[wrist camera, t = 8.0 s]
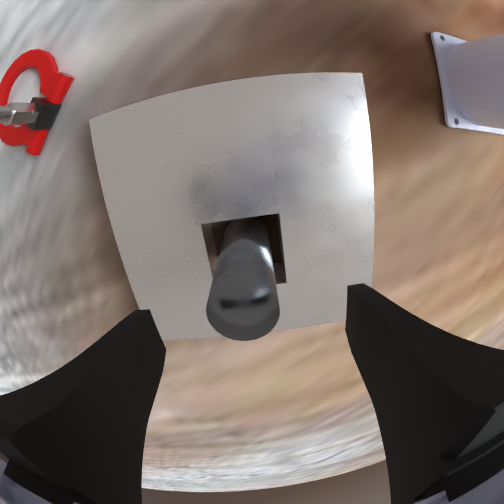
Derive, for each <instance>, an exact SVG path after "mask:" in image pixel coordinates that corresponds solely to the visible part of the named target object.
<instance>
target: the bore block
mask: <svg viewBox="0 0 504 504" xmlns="http://www.w3.org/2000/svg"><path fill="white" fill-rule="evenodd" d="M89 124H90V131H91V137H92V143H93V148H94V154H95V159H96V164H97V169H98V174H99V178H100V183H101V187H102V191H103V196H104V200H105V204H106V208H107V211H108V215H109V219H110V222H111V226H112V230H113V233H114V236H115V240H116V243H117V246H118V250H119V253H120V256H121V259H122V262H123V265H124V268H125V271H126V274H127V277H128V280H129V282H130V285H131V288H132V291H133V293H134V296H135V299H136V301H137V304H138V307H139V309H140V310H145V309H150V311H151V314H152V316H153V319H154V322H155V324H156V327H157V329H158V331H159V334H160V336H161V339H162V340H179V339H196V338H210V337H222V336H223V335H221V334H220V333H218V332H217V331H216V330H215V329H214V328H213V327H212V326H211V324H210V323H209V321H208V319H207V315H206V305H207V301H208V296H209V292H210V288H211V284H212V280H213V276H214V272H215V268H216V264H217V260H218V257H217V252H216V247H215V242H214V237H213V232H212V227H211V223H212V222H219V221H226V220H233V219H240V218H247V217H255V216H262V215H270V214H277V221H278V230H279V238H280V247H281V257H282V262H279V263H273V267H274V273H275V280H276V287H277V293H278V300H279V307H280V316H279V320H278V322H277V324H276V325H275V327H274V328H273V329H272V330H271V331H279V330H286V329H294V328H301V327H308V326H314V325H321V324H327V323H333V322H338V321H344V320H346V309H347V286H348V285H354V284H360V283H364V284H366V285H368V286H369V287H372V273H373V252H374V182H373V162H372V148H371V136H370V126H369V117H368V108H367V101H366V94H365V87H364V81H363V75H362V73H344V72H323V73H296V74H282V75H270V76H261V77H252V78H245V79H238V80H231V81H225V82H219V83H214V84H208V85H203V86H198V87H194V88H189V89H185V90H180V91H176V92H172V93H168V94H165V95H161V96H157V97H154V98H150V99H147V100H143V101H140V102H137V103H134V104H131V105H127V106H124V107H121V108H119V109H116V110H113V111H110V112H107V113H105V114H102V115H99V116H97V117H94V118H92V119H89ZM271 331H270V332H271Z"/></svg>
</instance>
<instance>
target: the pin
mask: <svg viewBox="0 0 504 504" xmlns="http://www.w3.org/2000/svg"><path fill="white" fill-rule="evenodd" d="M206 315H207V319H208V321H209V323H210V324H211V326H212V327H213V328H214V329H215V330H216V331H217V332H218V333H220V334H221V335H223V336H225V337H227V338H230V339H233V340H240V341H248V340H254V339H257V338H260V337H262V336H264V335H266V334H268V333H269V332H270V331H271V330H272V329H273V328H274V327H275V325H276V324H277V322H278V320H279V316H280V307H279V300H278V293H277V287H276V280H275V273H274V267H273V261H272V254H271V248H270V241H269V235H268V230H267V227H266V225H265V224H264V222H263V221H262V220H261V219H259V218H258V217H256V216H255V217H247V218H240V219H233V220H231V221H230V222H229V223H228V225H227V227H226V229H225V233H224V237H223V241H222V244H221V248H220V252H219V256H218V260H217V264H216V268H215V272H214V276H213V280H212V284H211V288H210V292H209V296H208V301H207V305H206Z"/></svg>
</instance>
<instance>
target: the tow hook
mask: <svg viewBox="0 0 504 504" xmlns="http://www.w3.org/2000/svg"><path fill="white" fill-rule="evenodd" d="M29 67H35V68H36V69H37V70H38V72H39V75H40V82H41V86H40V92H41V94H43V95H44V96H46V97H47V98H37V97H33V98H32V100H31V103H10V104H7V100H8V96H9V92H10V90H11V87H12V85H13V83H14V82H15V80H16V78H17V77H18V76H19V75H20V73H22V72H23V71H24V70H25V69H27V68H29ZM73 79H74V77H73V76H71V75H69V74H67V73H62V72H60V73H58V67H57V64H56V62H55V59H54V57H53V56H52V55H51V54H50V53H49V52H46V51H43V50H40V49H35V50H30V51H28V52H26V53H24V54H22V55H21V56H20V57H19V58H17V59H16V60H15V61H14V62H13V64H12V65H11V66H10V67H9V69H8V70H7V72H6V74H5V75H4V77H3V79H2V81H1V83H0V138H1V140H2V141H3V142H4V143H6V144H7V145H12V146H17V145H21V144H24V145H25V146H26V147H27V148H26V151H27V152H28V153H29V154H32V155H39V154H40V152H41V150H42V147H43V144H44V142H45V139H46V137H47V134H48V132H49V129H51V127H52V125H53V123H54V121H55V118H56V116H57V114H58V112H59V110H60V107H61V103H62V101H63V99H64V97H65V95H66V93H67V91H68V89H69V87H70V85H71V83H72V81H73ZM22 124H23V125H22ZM13 125H22V126H21V127H18V128H16V127H14V126H13Z"/></svg>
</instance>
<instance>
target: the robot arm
mask: <svg viewBox="0 0 504 504" xmlns="http://www.w3.org/2000/svg"><path fill="white" fill-rule="evenodd" d="M440 37H441V38H442V40H441V39H440ZM431 40H432V44H433V48H434V52H435V57H436V62H437V67H438V72H439V78H440V84H441V90H442V98H443V106H444V115H445V123H446V125H447V126H448V127H452V128H461V129H469V130H477V131H483V132H490V133H495V134H501V135H504V33H503V34H498V35H493V36H489V37H484V38H480V39H476V40H472V41H468V42H467V41H464V40H461V39H459V38H455V37H452V36H449V35H446V34H443V33H439V32H432V33H431ZM454 120H456V124H455V122H454ZM345 331H346V334H347V338H348V342H349V345H350V349H351V352H352V355H353V357H354V359H355V362H356V364H357V366H358V369H359V371H360V374H361V376H362V378H363V381H364V383H365V385H366V388H367V390H368V392H369V395H370V397H371V400H372V403H373V406H374V408H375V412H376V416H377V419H378V423H379V427H380V431H381V436H382V441H383V445H384V450H385V456H386V462H387V468H388V475H389V483H390V493H391V504H504V350H500V349H496V348H492V347H488V346H484V345H481V344H478V343H475V342H472V341H469V340H466V339H463V338H460V337H458V336H455V335H453V334H451V333H448V332H446V331H444V330H442V329H440V328H437V327H435V326H433V325H431V324H429V323H427V322H426V321H424V320H422V319H420V318H418V317H417V316H415V315H413V314H411V313H410V312H408V311H406V310H405V309H403V308H402V307H400V306H398V305H397V304H395V303H394V302H392V301H391V300H389V299H388V298H386V297H385V296H383V295H382V294H380V293H379V292H377V291H376V290H374V289H372V288H371V287H369V286H368V285H366V284H364V283H360V284H354V285H348V286H347V309H346V328H345ZM165 355H166V348H165V346H164V343H163V341H162V339H161V336H160V334H159V331H158V329H157V327H156V324H155V322H154V319H153V316H152V314H151V311H150V309H145V310H135V311H134V312H132V313H131V314H129V315H128V316H127V317H125V318H124V319H123V320H122V321H120V322H119V323H118V324H117V325H116V326H114V327H113V328H112V329H111V330H110V331H108V332H107V333H106V334H105V335H104V336H102V337H101V338H100V339H99V340H98V341H96V342H95V343H94V344H93V345H91V346H90V347H89V348H87V349H86V350H85V351H84V352H82V353H81V354H80V355H79V356H77V357H76V358H74V359H73V360H72V361H70V362H69V363H67V364H66V365H64V366H63V367H61V368H59V369H58V370H56V371H55V372H53V373H51V374H49V375H47V376H45V377H44V378H42V379H40V380H38V381H36V382H34V383H32V384H30V385H28V386H25V387H23V388H21V389H18V390H16V391H13V392H10V393H7V394H4V395H1V396H0V451H1V452H2V453H3V454H4V455H5V456H6V457H7V458H8V459H9V461H8V463H7V464H6V463H5V462H3V461H2V460H1V459H0V504H142V494H141V480H142V460H143V449H144V442H145V435H146V428H147V424H148V420H149V416H150V412H151V409H152V406H153V402H154V399H155V396H156V393H157V389H158V386H159V383H160V379H161V376H162V373H163V367H164V362H165Z"/></svg>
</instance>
